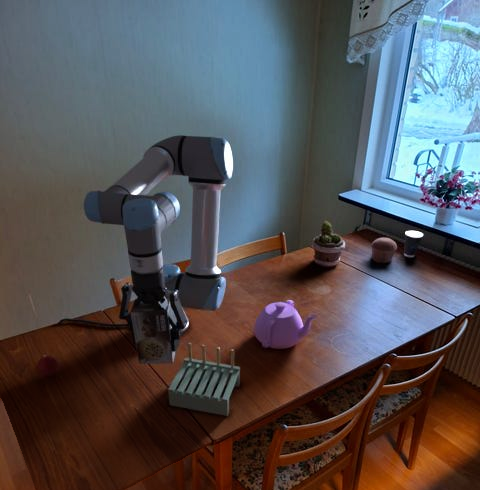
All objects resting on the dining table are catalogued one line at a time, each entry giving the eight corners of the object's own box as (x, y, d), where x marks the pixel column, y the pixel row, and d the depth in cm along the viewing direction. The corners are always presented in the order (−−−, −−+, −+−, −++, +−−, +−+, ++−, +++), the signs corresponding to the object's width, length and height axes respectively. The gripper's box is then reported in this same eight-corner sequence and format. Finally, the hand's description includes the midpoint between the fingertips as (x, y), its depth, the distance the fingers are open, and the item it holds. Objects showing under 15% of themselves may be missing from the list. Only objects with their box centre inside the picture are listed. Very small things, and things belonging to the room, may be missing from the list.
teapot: (301, 367, 142) (305, 331, 135) (241, 347, 151) (242, 312, 143) (324, 333, 158) (329, 299, 151) (269, 316, 167) (271, 284, 160)
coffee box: (176, 349, 120) (171, 297, 111) (173, 364, 115) (168, 311, 106) (142, 349, 120) (134, 297, 111) (137, 364, 115) (129, 311, 106)
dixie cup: (404, 250, 219) (409, 229, 213) (420, 255, 215) (425, 233, 209) (397, 255, 214) (402, 233, 208) (413, 260, 210) (419, 238, 204)
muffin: (371, 263, 206) (375, 243, 201) (366, 253, 216) (370, 234, 210) (397, 264, 206) (401, 244, 201) (391, 254, 215) (395, 234, 210)
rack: (169, 405, 127) (165, 369, 120) (186, 374, 139) (183, 340, 132) (227, 416, 124) (227, 380, 117) (239, 383, 135) (240, 349, 128)
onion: (53, 367, 141) (48, 346, 137) (64, 374, 138) (58, 354, 134) (36, 376, 137) (30, 355, 133) (46, 384, 134) (40, 363, 130)
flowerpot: (348, 267, 203) (355, 225, 192) (317, 271, 199) (322, 229, 188) (334, 254, 214) (340, 214, 203) (304, 258, 211) (308, 217, 200)
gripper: (94, 268, 103) (109, 346, 115) (187, 281, 98) (192, 361, 110) (110, 255, 109) (123, 330, 121) (198, 267, 104) (202, 343, 116)
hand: (156, 345), depth 115 cm, fingers closed on coffee box, 10 cm apart
